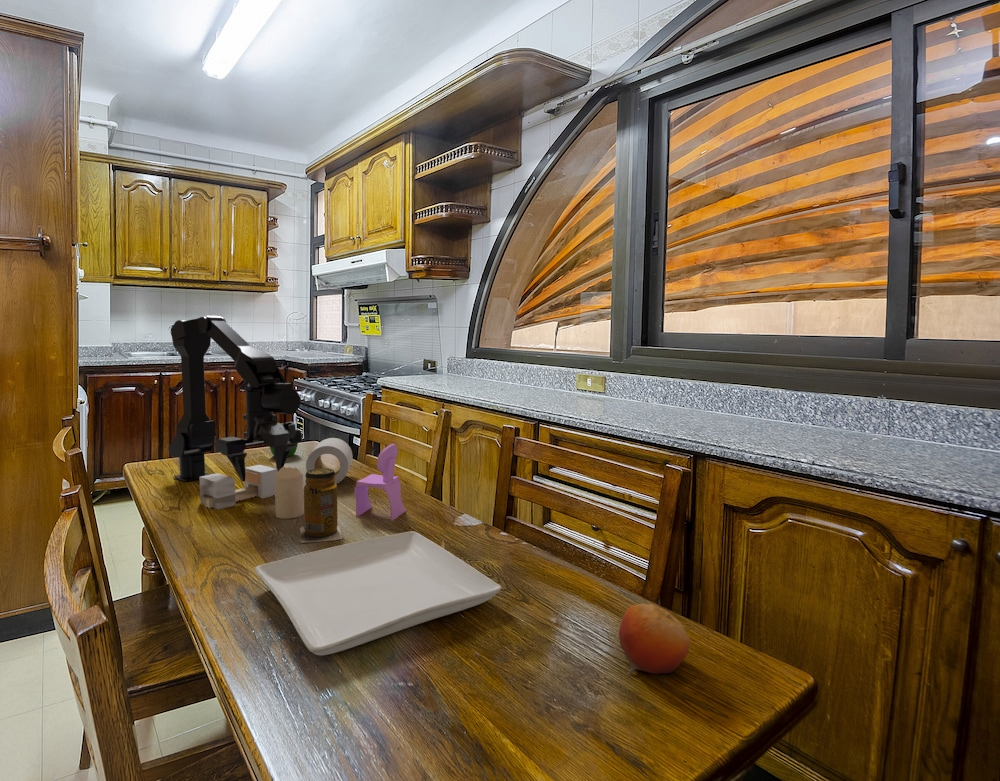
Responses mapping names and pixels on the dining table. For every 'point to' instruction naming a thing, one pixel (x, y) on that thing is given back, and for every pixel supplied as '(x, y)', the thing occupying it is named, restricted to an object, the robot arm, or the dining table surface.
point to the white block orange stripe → (261, 479)
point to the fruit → (652, 639)
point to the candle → (289, 493)
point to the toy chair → (381, 484)
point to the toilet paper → (334, 448)
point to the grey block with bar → (222, 491)
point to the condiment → (320, 507)
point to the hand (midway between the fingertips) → (261, 477)
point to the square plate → (372, 589)
